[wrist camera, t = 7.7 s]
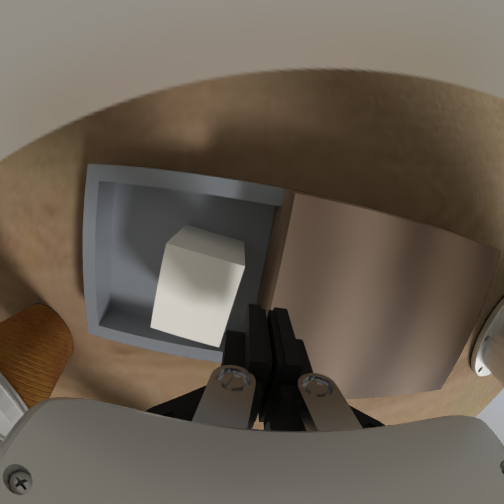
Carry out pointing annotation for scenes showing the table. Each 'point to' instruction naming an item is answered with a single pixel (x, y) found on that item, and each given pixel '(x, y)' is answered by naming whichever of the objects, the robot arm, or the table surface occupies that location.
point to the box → (163, 246)
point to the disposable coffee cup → (30, 360)
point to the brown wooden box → (374, 293)
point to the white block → (198, 285)
